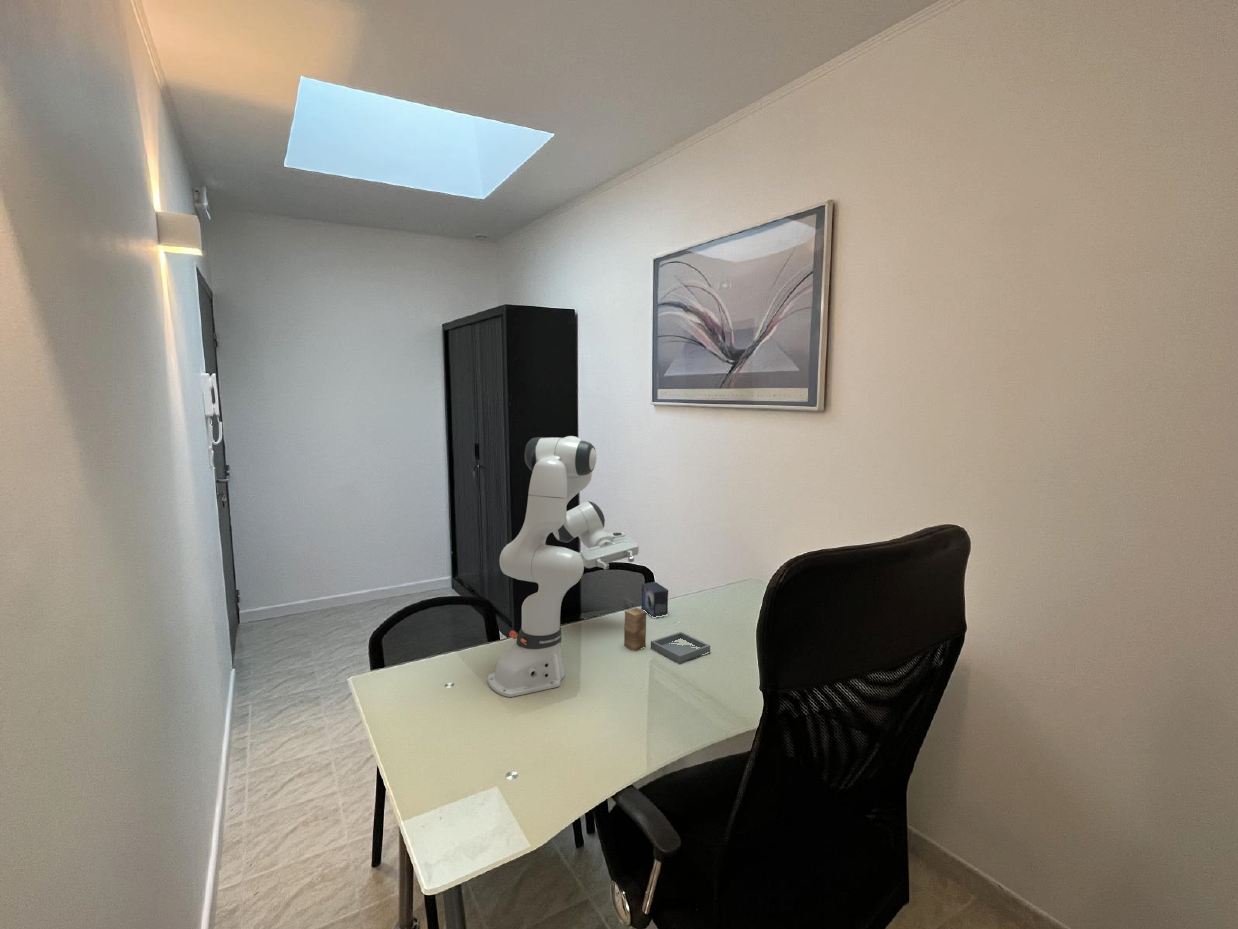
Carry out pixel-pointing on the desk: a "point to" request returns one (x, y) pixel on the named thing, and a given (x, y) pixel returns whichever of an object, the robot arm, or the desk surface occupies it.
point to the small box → (654, 599)
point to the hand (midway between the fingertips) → (619, 563)
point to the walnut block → (635, 629)
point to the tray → (679, 647)
